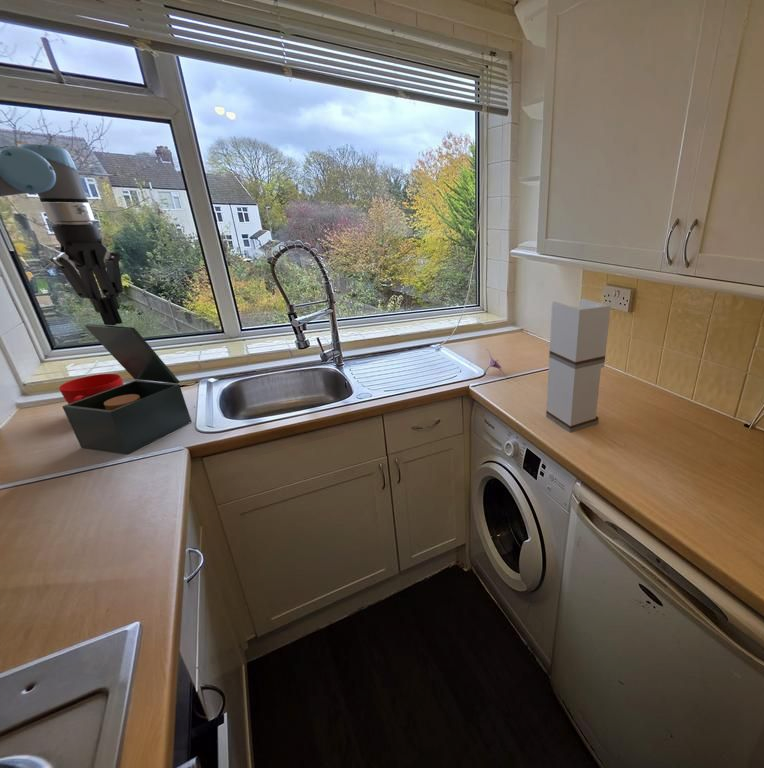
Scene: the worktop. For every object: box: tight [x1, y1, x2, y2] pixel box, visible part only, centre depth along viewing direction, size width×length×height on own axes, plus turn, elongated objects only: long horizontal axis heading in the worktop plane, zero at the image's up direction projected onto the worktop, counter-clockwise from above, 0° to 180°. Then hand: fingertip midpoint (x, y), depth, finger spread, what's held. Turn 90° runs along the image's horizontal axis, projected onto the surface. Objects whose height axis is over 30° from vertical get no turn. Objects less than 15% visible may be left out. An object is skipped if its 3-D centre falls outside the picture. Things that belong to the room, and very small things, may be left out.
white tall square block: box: [545, 298, 612, 433], centre depth 115 cm, size 11×11×35 cm
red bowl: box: [58, 373, 124, 404], centre depth 118 cm, size 13×17×10 cm
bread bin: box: [62, 379, 192, 455], centre depth 108 cm, size 18×15×12 cm
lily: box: [483, 348, 505, 376], centre depth 154 cm, size 12×12×10 cm
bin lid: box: [84, 323, 180, 384], centre depth 107 cm, size 18×15×1 cm
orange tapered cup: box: [104, 394, 141, 410], centre depth 107 cm, size 7×7×10 cm
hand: (113, 323), depth 102 cm, fingers closed
